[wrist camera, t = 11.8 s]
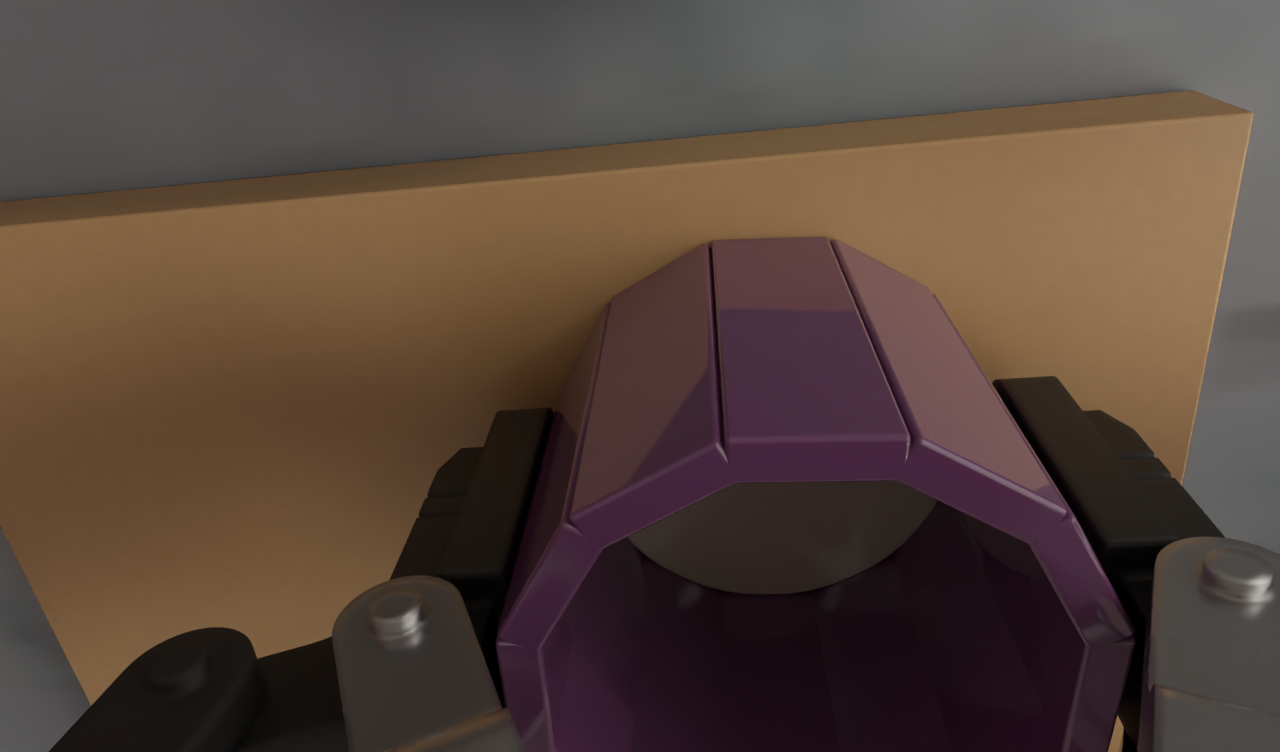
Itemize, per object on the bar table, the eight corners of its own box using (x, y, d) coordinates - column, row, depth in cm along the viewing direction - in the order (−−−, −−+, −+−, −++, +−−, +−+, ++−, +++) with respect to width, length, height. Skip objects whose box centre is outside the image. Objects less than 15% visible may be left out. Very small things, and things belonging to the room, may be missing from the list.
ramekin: (684, 157, 11) (681, 320, 7) (1064, 358, 12) (1273, 612, 8) (500, 497, 14) (412, 777, 9) (829, 642, 15) (889, 957, 10)
